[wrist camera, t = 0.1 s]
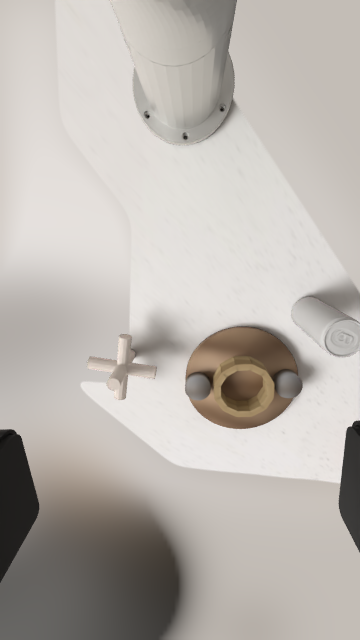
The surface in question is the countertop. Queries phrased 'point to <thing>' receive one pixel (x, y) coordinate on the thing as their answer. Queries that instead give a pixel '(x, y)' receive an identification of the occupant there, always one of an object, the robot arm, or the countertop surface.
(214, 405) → the carrier
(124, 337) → the pipe connector
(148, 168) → the countertop surface
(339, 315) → the beverage can
